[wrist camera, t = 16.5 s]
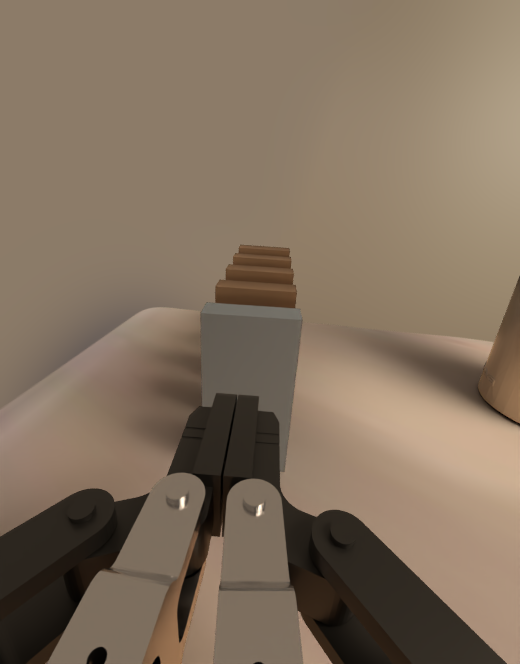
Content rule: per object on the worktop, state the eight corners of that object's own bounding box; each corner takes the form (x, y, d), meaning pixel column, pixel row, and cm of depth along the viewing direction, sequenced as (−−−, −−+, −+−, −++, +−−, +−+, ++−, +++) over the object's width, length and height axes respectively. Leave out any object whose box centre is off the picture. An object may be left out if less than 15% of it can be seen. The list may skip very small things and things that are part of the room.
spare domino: (284, 471, 21) (302, 320, 16) (202, 465, 21) (200, 313, 16) (283, 452, 22) (300, 308, 18) (207, 446, 22) (206, 302, 18)
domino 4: (281, 362, 33) (291, 260, 29) (230, 359, 33) (233, 256, 29) (281, 355, 34) (290, 257, 30) (232, 351, 34) (235, 253, 30)
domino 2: (282, 422, 25) (296, 292, 21) (214, 417, 25) (215, 286, 21) (282, 409, 26) (295, 285, 22) (218, 404, 26) (219, 279, 22)
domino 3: (282, 388, 29) (293, 273, 25) (223, 384, 29) (225, 269, 25) (281, 378, 30) (292, 268, 26) (226, 374, 30) (228, 264, 26)
